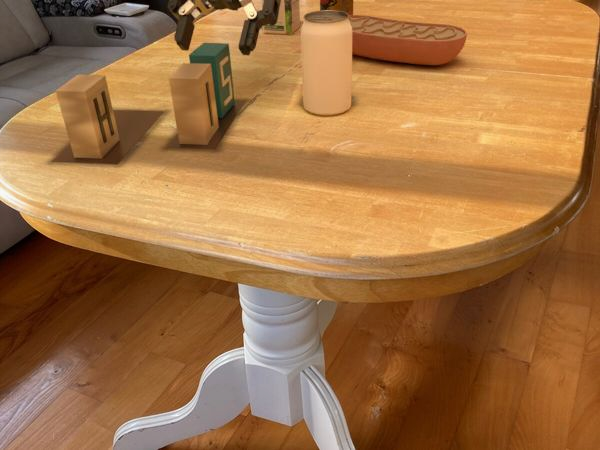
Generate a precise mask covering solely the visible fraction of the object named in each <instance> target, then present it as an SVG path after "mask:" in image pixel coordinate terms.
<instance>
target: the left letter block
mask: <svg viewBox="0 0 600 450" xmlns="http://www.w3.org/2000/svg"><path fill="white" fill-rule="evenodd" d="M55 94H56V97H57V101H58V105H59V108H60V112H61V116H62V120H63V123H64V126H65V131H66V133H67V136H68V141H69V144H68V145H67V146H66V147H65V148H64V149H63V150H61V152H60V153H58V155H56V156H55V157H54V158H53V159H52V160H51V163H72V164H91V165H92V164H94V165H116V166H117V165H119V164H120V163H121V162H122V160H123V159H124V158H125V157H126V156H127V155H128V154H129V152H131V150H132V149H133V148H134V147H135V145H136V144H137V143H138V142H139V141H140V140H141V139H142V137H144V135H145V134H146V133H147V132H148V131H149V130H150V129H151V128H152V126H153V125H154V124H155V123H156V122H157V121H158V120H159V119H160V118H161V116H162V115H163V114H164V113H165V110H136V109H135V110H132V109H130V110H129V109H113V108H114V107H113V104H112V100H111V95H110V91H109V86H108V82H107V78H106V75H103V74H102V75H101V74H76V75H75V76H74V77H73V78H70V80H68V81H67V82H66V83H64V84H62V86H60V87H59V88H57V89H55Z"/></svg>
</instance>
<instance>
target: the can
mask: <svg viewBox="0 0 600 450" xmlns="http://www.w3.org/2000/svg"><path fill="white" fill-rule="evenodd" d="M348 18H349V14H348V13H346V12H343V11H336V10H321V11H320V10H314V11H310V12H308V13H305V14H304V15H303V23H302V25H301V26H300V55H301V56H300V58H301V81H302V83H301V87H302V105H303V108H304V109H305V111H306V112H307V113H309V114H311V115H314V116H318V117H335V116H340V115H342V114H345V113H347V112H348V111H349V110H350V109H351V107H352V89H353V87H352V86H353V85H352V83H353V81H352V80H353V75H352V74H353V54H352V26H351V24H350V22H349V19H348Z"/></svg>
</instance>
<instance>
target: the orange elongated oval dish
mask: <svg viewBox="0 0 600 450" xmlns="http://www.w3.org/2000/svg"><path fill="white" fill-rule="evenodd" d="M348 19H349V22H350V24H351V26H352V55H355V56H359V57H364V58H369V59H374V60H380V61H387V62H391V63H392V62H394V63H401V64H402V63H403V64H412V65H420V66H421V65H422V66H423V65H424V66H433V67H435V66H442V65H445V64H447V63H450V62H451V61H453V60H454V59H455V58H456V57H457V56H458V55H459V54H460V53H461V52H462V50H463V49H464V47H465V45H466V41H467V36H468V32H467V30H466V29H464V28H462V27H460V26H458V25H457V26H456V25H452V24H445V23H431V22H430V23H429V22H418V21H417V22H416V21H408V20H407V21H406V20H399V19H393V18H392V19H391V18H384V17H377V16H371V15H364V14H353V15H349V18H348Z"/></svg>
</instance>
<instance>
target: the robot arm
mask: <svg viewBox="0 0 600 450" xmlns="http://www.w3.org/2000/svg"><path fill="white" fill-rule="evenodd" d="M280 3H281V0H264V3H263V9H262V8H261V10H258V9H257V8H256V7H255V4H254V2H253V1H252V0H206V1H205V2H203V0H168V3H167V5H166V7H167V9H168V10H169V12H170V13H171V14H172V15H173V16H174V18H175V19H176V20H178V21H177V25H176V29H175V33H174V36H173V37H174V41H175V42H176V46H178V48H179V49H180V50H181V51H187V52H188V51H189V50H190V48H191V47H190V46H191V43H192V39H193V35H194V31H195V28H196V25H195V23H197V21H198V20H200V19H201V17H203V16H207V15H209V14H210V13H211V12H212V11H213V10H214V9H215V10H218V11H223V10H227V9H228V10H231V11H236V12H237V11H239V9H241V8H242V9H243V11H244V13H245V14H246V16H247V19H245V20H244V21H243V26H242V30H241V33H240V37H239V42H238V49H239V52H240V53H241V54H242V56H250V54H251V52H254V50H255V49H256V47H257V42H258V38H259V34H260V30H261V29H263V26H264V25H267V24H269V25H271V26H273V25H275V24H276V23H277V20H278V15H279V9H280Z"/></svg>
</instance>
